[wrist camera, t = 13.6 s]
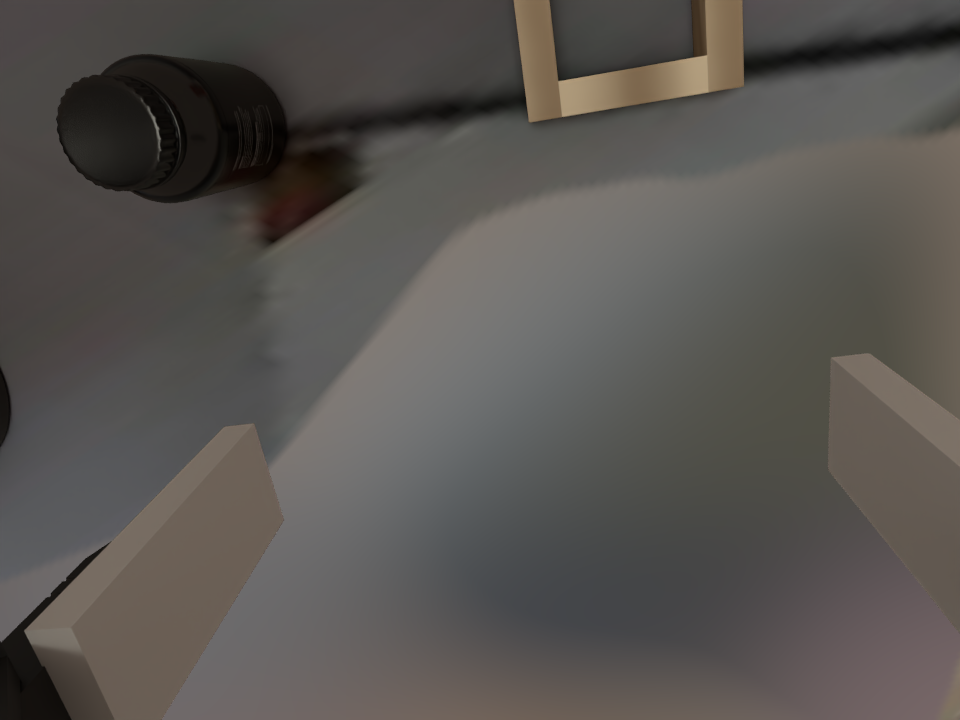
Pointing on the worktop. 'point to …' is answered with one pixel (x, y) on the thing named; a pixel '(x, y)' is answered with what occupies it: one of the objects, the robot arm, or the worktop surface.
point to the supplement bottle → (171, 127)
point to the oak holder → (706, 72)
